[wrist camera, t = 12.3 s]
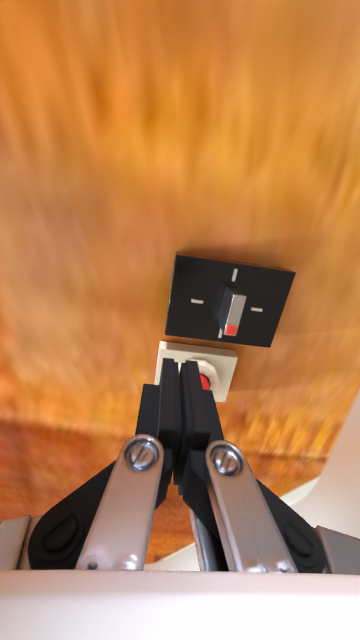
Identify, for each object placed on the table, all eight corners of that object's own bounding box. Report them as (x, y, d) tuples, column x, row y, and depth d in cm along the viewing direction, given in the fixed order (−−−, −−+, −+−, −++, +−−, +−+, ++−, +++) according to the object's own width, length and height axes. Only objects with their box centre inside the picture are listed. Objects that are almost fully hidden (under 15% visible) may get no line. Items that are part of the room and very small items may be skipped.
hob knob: (225, 286, 26) (234, 295, 22) (237, 287, 26) (247, 297, 22) (217, 322, 28) (223, 335, 24) (228, 323, 28) (236, 337, 24)
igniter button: (180, 392, 31) (180, 401, 29) (184, 371, 30) (184, 379, 28) (205, 395, 31) (207, 404, 30) (210, 374, 30) (212, 382, 28)
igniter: (154, 385, 35) (151, 404, 31) (160, 340, 32) (158, 355, 28) (222, 392, 36) (228, 411, 32) (234, 349, 33) (241, 365, 29)
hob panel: (165, 325, 31) (164, 335, 28) (175, 251, 27) (175, 254, 24) (261, 337, 32) (270, 348, 29) (284, 268, 28) (296, 272, 25)
